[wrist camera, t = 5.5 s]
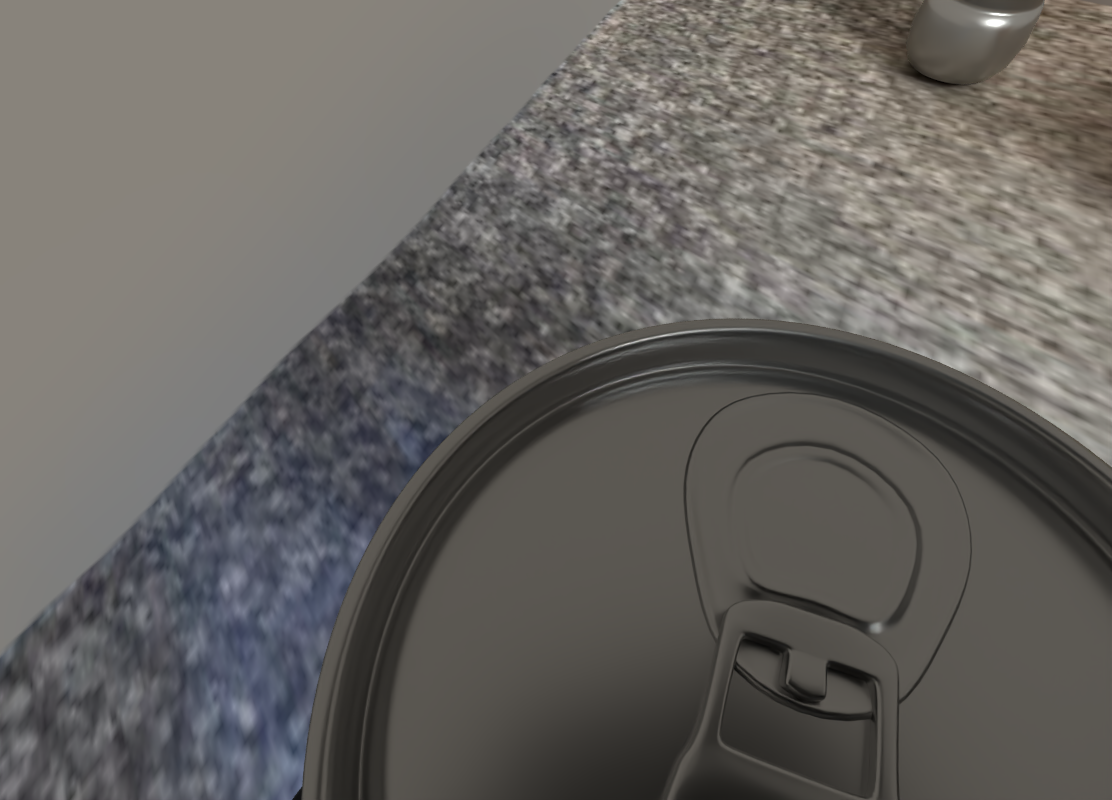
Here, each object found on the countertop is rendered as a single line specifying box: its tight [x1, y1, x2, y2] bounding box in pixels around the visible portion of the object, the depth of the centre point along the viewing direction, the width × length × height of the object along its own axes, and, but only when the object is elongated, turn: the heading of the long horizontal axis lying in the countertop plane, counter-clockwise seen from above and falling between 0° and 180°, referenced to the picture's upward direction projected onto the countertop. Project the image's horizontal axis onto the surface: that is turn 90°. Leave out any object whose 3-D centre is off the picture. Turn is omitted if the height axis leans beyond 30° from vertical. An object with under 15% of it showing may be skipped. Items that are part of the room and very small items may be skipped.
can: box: [301, 319, 1112, 800], centre depth 8 cm, size 6×6×12 cm
